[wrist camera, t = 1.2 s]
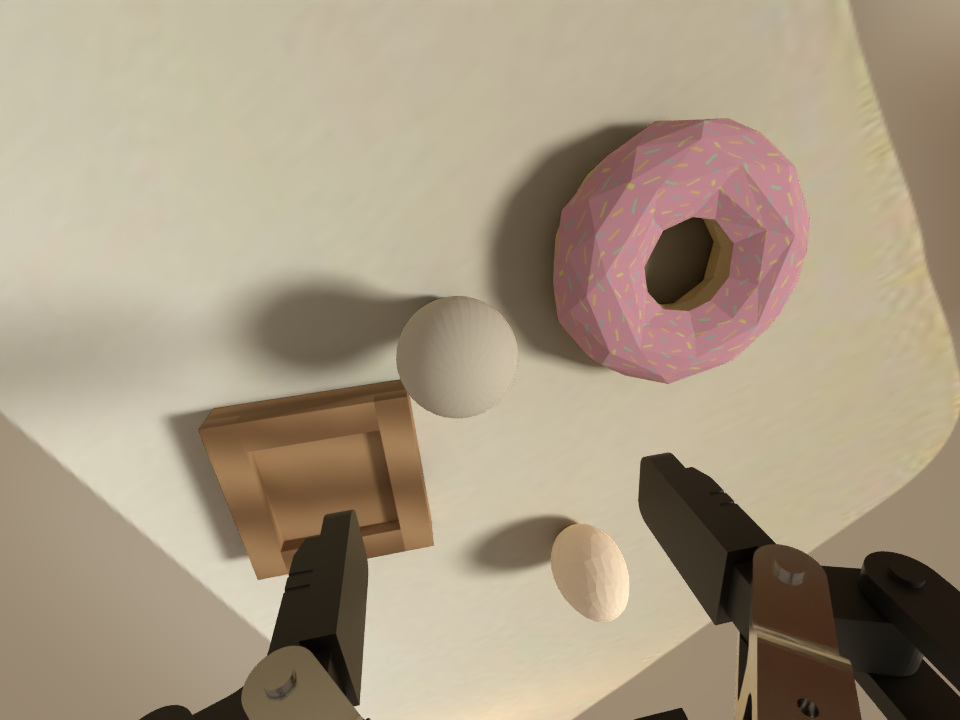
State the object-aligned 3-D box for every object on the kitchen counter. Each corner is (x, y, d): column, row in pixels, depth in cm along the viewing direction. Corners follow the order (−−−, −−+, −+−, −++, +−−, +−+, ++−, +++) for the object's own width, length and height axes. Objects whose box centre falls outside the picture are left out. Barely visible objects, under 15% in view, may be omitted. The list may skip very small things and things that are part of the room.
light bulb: (415, 369, 30) (423, 459, 21) (381, 285, 28) (374, 346, 19) (501, 340, 30) (546, 416, 21) (475, 253, 28) (513, 298, 19)
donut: (765, 326, 34) (822, 352, 29) (565, 390, 33) (592, 427, 29) (765, 85, 27) (838, 71, 23) (516, 160, 27) (540, 160, 22)
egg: (615, 526, 39) (663, 607, 32) (569, 567, 40) (606, 653, 33) (574, 495, 37) (616, 574, 30) (526, 539, 38) (556, 625, 31)
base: (213, 408, 29) (198, 429, 27) (406, 378, 30) (407, 396, 28) (267, 551, 34) (258, 579, 32) (431, 520, 35) (433, 545, 33)
